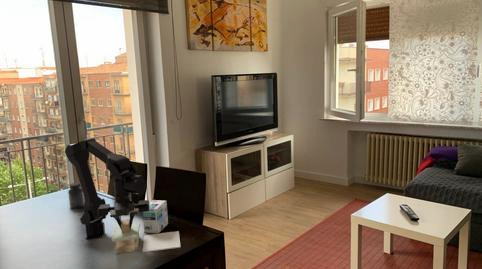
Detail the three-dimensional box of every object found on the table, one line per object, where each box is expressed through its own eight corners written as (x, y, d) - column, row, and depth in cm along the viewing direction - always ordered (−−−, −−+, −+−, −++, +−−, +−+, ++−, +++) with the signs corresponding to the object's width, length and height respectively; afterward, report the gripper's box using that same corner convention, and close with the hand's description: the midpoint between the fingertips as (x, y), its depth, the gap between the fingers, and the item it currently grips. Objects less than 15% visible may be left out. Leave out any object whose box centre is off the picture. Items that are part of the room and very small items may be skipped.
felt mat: (142, 252, 137) (142, 251, 136) (144, 236, 150) (144, 235, 150) (180, 247, 139) (180, 246, 139) (178, 232, 153) (178, 231, 153)
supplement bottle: (77, 203, 192) (74, 181, 190) (87, 204, 189) (85, 182, 187) (67, 208, 185) (64, 185, 183) (77, 209, 183) (75, 186, 181)
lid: (112, 244, 135) (110, 230, 134) (116, 230, 148) (115, 216, 147) (138, 241, 137) (136, 227, 136) (140, 227, 150) (138, 214, 149)
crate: (115, 253, 136) (113, 241, 136) (118, 239, 148) (117, 227, 147) (137, 250, 138) (136, 238, 137) (139, 236, 150) (138, 225, 149)
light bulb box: (158, 233, 152) (156, 209, 150) (143, 233, 153) (141, 208, 151) (168, 223, 162) (167, 200, 160) (154, 222, 164) (152, 199, 162)
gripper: (92, 200, 130) (97, 241, 132) (147, 194, 133) (150, 235, 136) (97, 190, 140) (102, 228, 143) (148, 185, 144) (151, 223, 147)
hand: (126, 229), depth 142 cm, fingers closed on lid, 3 cm apart
